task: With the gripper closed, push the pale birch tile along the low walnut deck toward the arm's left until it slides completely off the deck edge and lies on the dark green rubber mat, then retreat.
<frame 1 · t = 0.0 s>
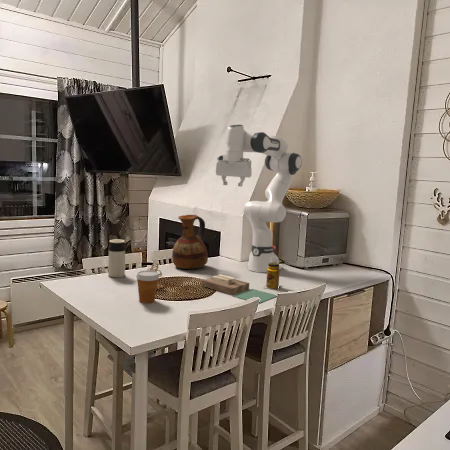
hand: (232, 185, 211), 48 cm above the table, fingers open, 8 cm apart
ceramic pitcher: (189, 267, 238), on the table
deck: (225, 287, 201), on the table
condiment: (273, 287, 207), on the table
disposable coffee cup: (147, 301, 176), on the table
tile: (223, 281, 202), point 3 cm above the table, touching deck
mat: (255, 296, 191), on the table
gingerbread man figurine: (154, 289, 194), on the table
travel mug: (116, 276, 212), on the table
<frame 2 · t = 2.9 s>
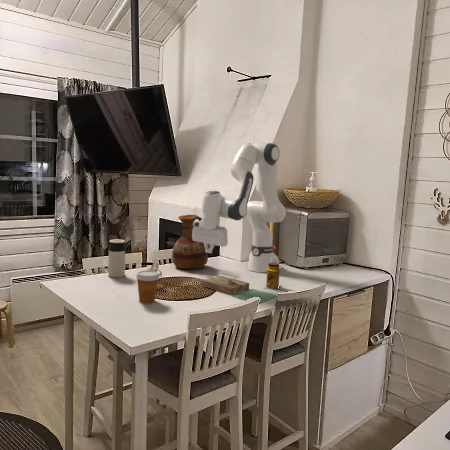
hand: (208, 252, 206), 15 cm above the table, fingers closed
nothing on the table moved.
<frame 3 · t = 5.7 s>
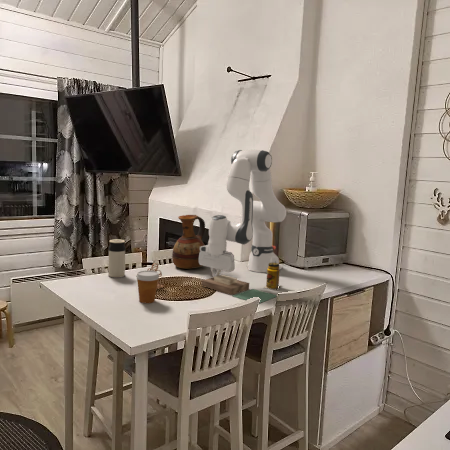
hand: (215, 277, 205), 4 cm above the table, fingers closed
tile: (225, 281, 201), point 3 cm above the table, touching gripper
everything else where it was.
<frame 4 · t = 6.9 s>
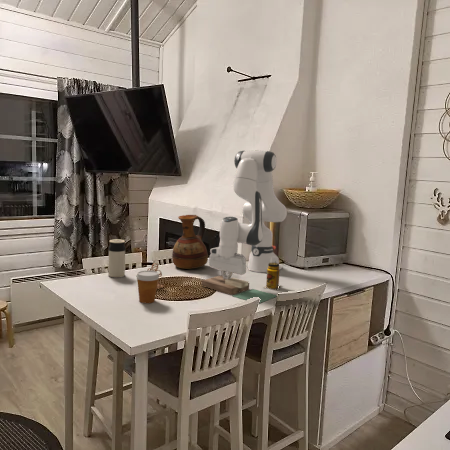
hand: (226, 280, 200), 4 cm above the table, fingers closed
tile: (236, 284, 197), point 3 cm above the table, touching deck, gripper
everything else where it was.
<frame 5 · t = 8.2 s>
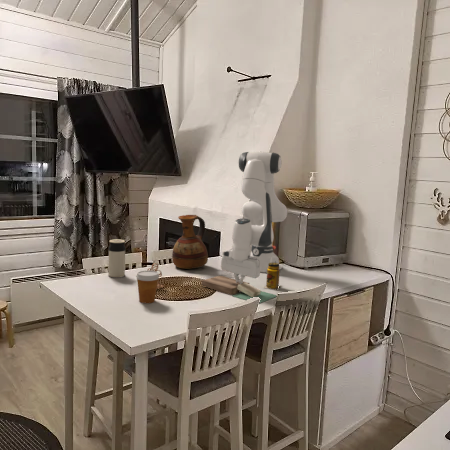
hand: (239, 283, 196), 4 cm above the table, fingers closed
tile: (248, 291, 193), point 1 cm above the table, tilted 12°
everything else where it was.
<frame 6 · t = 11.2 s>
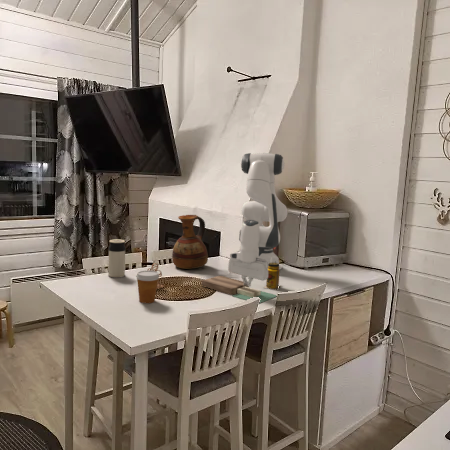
hand: (247, 285, 194), 4 cm above the table, fingers closed
tile: (248, 294, 193), resting on mat
everything else where it was.
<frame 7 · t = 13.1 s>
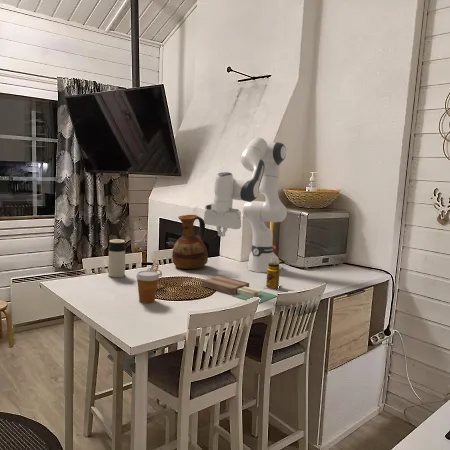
hand: (221, 236, 200), 24 cm above the table, fingers closed
nothing on the table moved.
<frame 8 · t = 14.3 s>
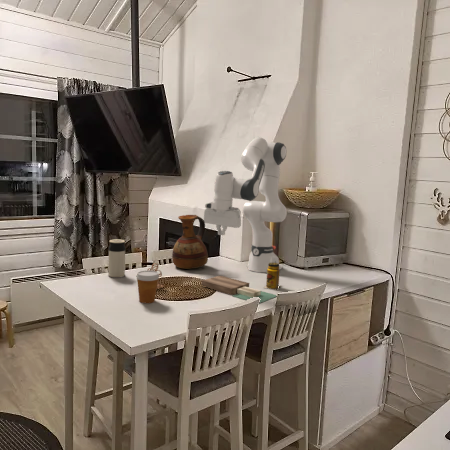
hand: (221, 234, 200), 25 cm above the table, fingers closed
nothing on the table moved.
at the end: tile resting on mat; tile inside the target area on the mat (3.5 cm from its centre), point 0.3 cm above the mat's base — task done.
